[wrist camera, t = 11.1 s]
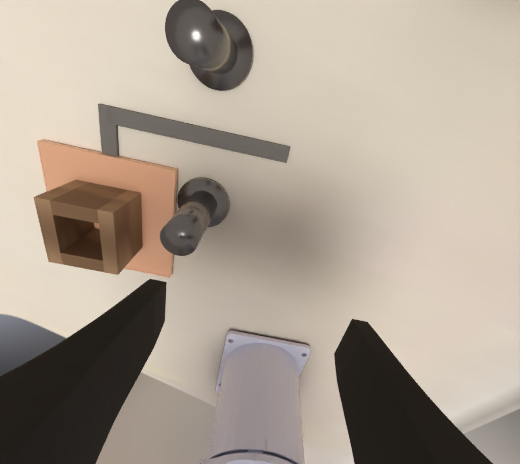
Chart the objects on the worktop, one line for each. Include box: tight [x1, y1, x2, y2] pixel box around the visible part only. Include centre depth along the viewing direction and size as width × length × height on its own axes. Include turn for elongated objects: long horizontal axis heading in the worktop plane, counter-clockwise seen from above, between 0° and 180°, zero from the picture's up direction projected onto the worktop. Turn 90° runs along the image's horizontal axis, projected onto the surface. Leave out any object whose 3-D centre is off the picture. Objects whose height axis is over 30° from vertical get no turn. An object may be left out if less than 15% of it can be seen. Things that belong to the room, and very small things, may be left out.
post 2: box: [160, 177, 229, 256], centre depth 16 cm, size 4×4×6 cm
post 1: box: [165, 0, 253, 90], centre depth 12 cm, size 4×4×6 cm
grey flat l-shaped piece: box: [98, 104, 290, 163], centre depth 17 cm, size 4×12×1 cm, turn 78°
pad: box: [37, 140, 178, 277], centre depth 19 cm, size 9×9×1 cm
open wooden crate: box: [34, 180, 143, 275], centre depth 18 cm, size 4×4×4 cm
